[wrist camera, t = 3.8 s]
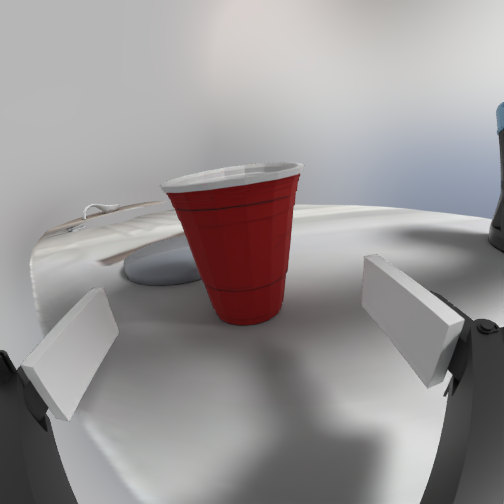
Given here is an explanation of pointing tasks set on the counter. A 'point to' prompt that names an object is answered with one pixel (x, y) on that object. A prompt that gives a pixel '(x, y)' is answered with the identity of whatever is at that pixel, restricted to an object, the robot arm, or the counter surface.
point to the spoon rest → (102, 208)
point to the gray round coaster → (162, 263)
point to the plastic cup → (239, 234)
